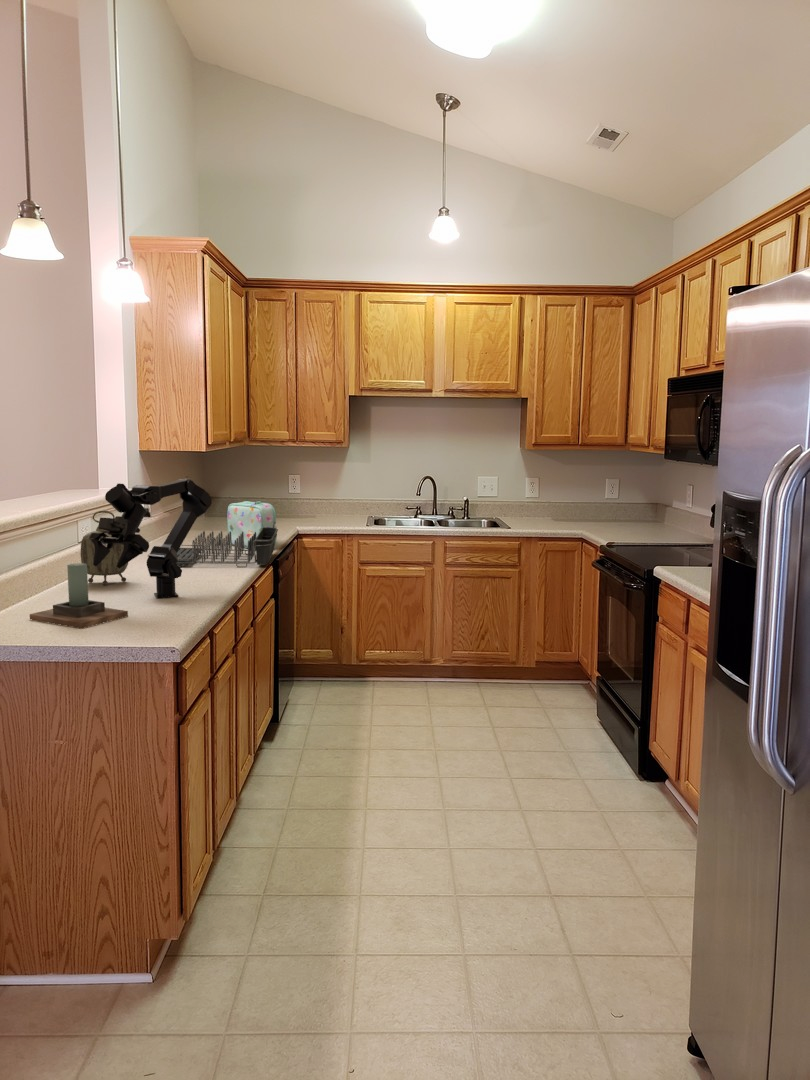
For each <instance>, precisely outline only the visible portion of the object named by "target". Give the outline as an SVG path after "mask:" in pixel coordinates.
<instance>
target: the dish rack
mask: <svg viewBox="0 0 810 1080" xmlns="http://www.w3.org/2000/svg"><path fill="white" fill-rule="evenodd" d="M278 531H279V529H278V528H277V529H276V528H270V527H262V529H261V531H260V532H259V534H258V536H257V537H256V532H255V533H254V534H253V536H252V537H251V538H250V541H249V540H248V548H247V549H245V547H244V535H243V531H242V534H240V536H238V538H236V540H235V542H234V545H232V539H231V531H230V532H229V533H228V532H227V534H226V535H225V537H224V536H223V530H221V531H220V532H218V534H216V536H215V535H214V530H211V532H209V534H207V535H206V532H205V530H203V531H202V532H200V534H198V535H197V536H195V538H194V539H193V540H192V544H181V546H180V548H179V550H178V551H177V558H178V561H177V563H176V564H181V566H183V564H188V565H189V564H215V565H216V564H217V565H218V564H220V565H222V564H225V565H226V564H233V565H234V564H236V566H237V567H236V566H235V567H236V568H248V564H252V565H253V564H256V565H258V566H264V565H268V564H269V563H270V560H271V558H272V556H273V554H274V551H275V546H276V544H275V538H276V536H277V537H278ZM214 536H215V537H214ZM230 540H231V543H230ZM184 546H185V547H184ZM233 546H234V549H233ZM231 551H233V552H234V553H232V552H231ZM246 552H247V553H246ZM219 557H220V558H219ZM228 557H229V558H230V557H231V558H232V557H234V558H233V560H231V561H230V560H229V561H227V560H228ZM253 558H254V562H253V561H252V562H251V560H252V559H253ZM197 559H198V560H197ZM238 560H241V561H238ZM245 560H246V561H245ZM238 564H244V565H245V564H246V566H239V565H238Z"/></svg>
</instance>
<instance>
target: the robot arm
mask: <svg viewBox="0 0 810 1080" xmlns="http://www.w3.org/2000/svg"><path fill="white" fill-rule="evenodd" d="M175 495H179V498H180V499H181V500H182V503H181V505H182V511H181V513H180V515H179V516H178V519H177V520H176V522H175V523H174V525H173V526H172V529H171V530H170V532H169V534H168V535H167V537H166V538H165V541H164V542H163V544H162V545H161V546H160V545H155V546H152V549H151V550H150V553H149V554H148V555H147V559H146V567H147V570H148V573H149V577H155V579H156V581H155V583H156V585H155V586H156V592H154V593H153V595H154V596H155V597H156V598H157V599H162V598H161V597H165V598H173V596H174V598H175V596H177V597H179V594H178V593H177V592H176V579H179V578H180V577H182V572H183V569H182V567H179V565H178V563H177V561H178V558H177V551H178V550H179V548H181V547H182V546H181V545H183V543H184V541H185V539H186V538H187V536H188V534H189V532H190V530H191V528H192V527H193V525H194V524H195V522H196V520H197V519H198V518H199V517H201V516H202V515H204V514H206V512H208V510H209V508H210V507H211V505H212V501H213V500H212V497H211V495H210V493H209V492H208V491H206V490H205V488H202V487H200V485H197V484H196V483H195V482H194V481H193V480H191V479H190V478H188V479H187V478H179V479H177V480H172V481H168V482H165V483H160V484H155V485H148V484H147V485H146V484H145V485H142V484H141V485H139V484H137V485H134V486H132V488H131V489H130V490H129V489H128V488H127V487H126V485H125V484H124V483H121V482H120V483H116V486H113V487H111V488H110V489H109V490H108V491H107V492H106V493H105V496H104V499H105V501H106V502H107V503H108V504H109V505H111V506H112V507H113V508H114V510H115V511H117V512H118V513H120V514H121V516H118V515H117V516H115V519H114V518H113V517H100V518H99V520H98V521H99V523H98V526H97V527H98V529H104V530H107V533H108V534H109V535H111V537H108V536H107V535H106V534H105V533H104V532H94V531H92V532H93V533H92V534H91V535H90V537H89V540H91V542H92V543H93V544H94V546H95V554H94V561H93V565H94V566H97V565H98V564H99V563H100V562H101V561H102V560H103V559H104V558H105V557H106V556H107V555H108V553H109V552H110V550H109V549H111V548H112V546H113V544H117V545H124V550H123V552H122V554H121V556H120V559H119V561H118V563H117V568H121V567H122V566H124V565H125V564H126V563H128V564H129V563H130V561H132V560H134V559H135V558H137V557H138V556H140V555H143V553H147V552H148V551H149V548H150V543H149V541H148V540H146V539H145V538H144V537H143V536H142V535H141V534H139V533H140V532H141V528H139V527H140V526H141V523H142V521H143V519H144V518H151V516H152V515H151V513H150V509H149V508H148V507H144V506H143V505H145V506H146V505H147V506H153V505H156V504H158V503H159V502H160V501H161V500H162V499H164V498H166V497H171V496H175Z"/></svg>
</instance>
